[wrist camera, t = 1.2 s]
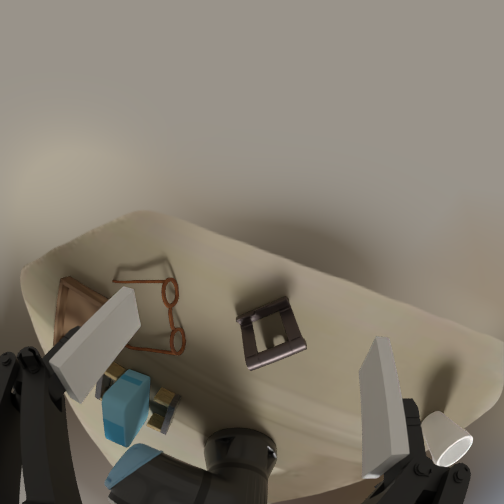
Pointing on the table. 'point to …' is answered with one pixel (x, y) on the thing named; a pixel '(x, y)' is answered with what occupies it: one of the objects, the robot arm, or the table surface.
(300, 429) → the table surface
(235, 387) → the table surface
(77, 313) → the tray
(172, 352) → the glasses
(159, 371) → the table surface
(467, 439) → the foam cup
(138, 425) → the data package
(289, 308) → the portable electronic device stand
